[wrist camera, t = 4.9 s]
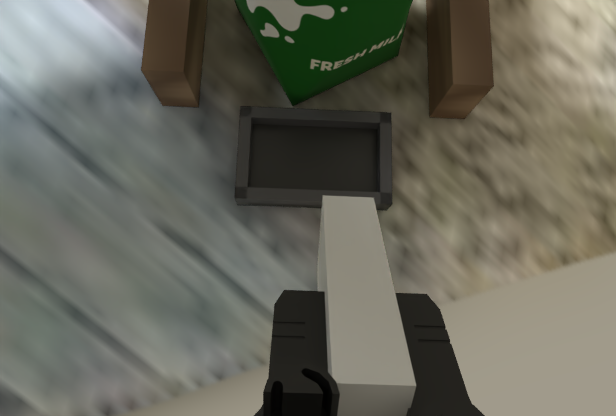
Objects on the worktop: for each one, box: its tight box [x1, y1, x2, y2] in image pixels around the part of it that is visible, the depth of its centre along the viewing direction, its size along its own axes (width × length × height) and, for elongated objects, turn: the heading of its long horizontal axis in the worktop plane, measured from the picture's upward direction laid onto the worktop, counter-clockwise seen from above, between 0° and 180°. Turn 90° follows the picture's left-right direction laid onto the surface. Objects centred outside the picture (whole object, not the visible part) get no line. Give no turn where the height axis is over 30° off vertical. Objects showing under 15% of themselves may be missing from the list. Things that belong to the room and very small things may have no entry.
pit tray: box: [235, 106, 392, 210], centre depth 26 cm, size 8×5×2 cm, turn 88°
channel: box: [141, 0, 494, 119], centre depth 26 cm, size 17×11×4 cm, turn 88°
